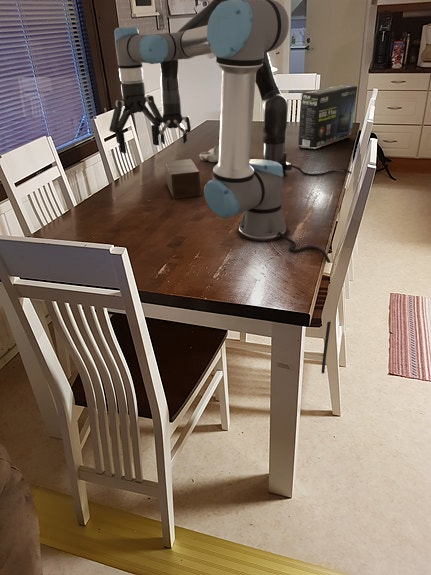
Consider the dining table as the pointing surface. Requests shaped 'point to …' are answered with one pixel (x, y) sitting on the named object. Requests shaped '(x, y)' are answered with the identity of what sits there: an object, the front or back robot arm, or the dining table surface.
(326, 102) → the router box
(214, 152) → the fossil
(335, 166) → the dining table surface
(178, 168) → the taupe rectangular block
